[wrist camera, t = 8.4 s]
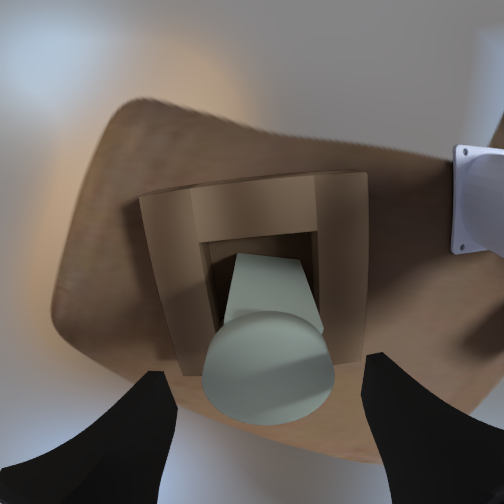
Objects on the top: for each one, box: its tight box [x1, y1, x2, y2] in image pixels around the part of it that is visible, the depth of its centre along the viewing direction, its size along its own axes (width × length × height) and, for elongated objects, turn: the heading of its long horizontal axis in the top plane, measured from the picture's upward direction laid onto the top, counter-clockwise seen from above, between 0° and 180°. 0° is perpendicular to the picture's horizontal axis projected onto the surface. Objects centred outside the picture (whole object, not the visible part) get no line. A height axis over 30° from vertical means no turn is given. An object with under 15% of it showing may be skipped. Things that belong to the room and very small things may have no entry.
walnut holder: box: [139, 169, 369, 376], centre depth 18 cm, size 12×12×2 cm
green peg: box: [202, 253, 335, 425], centre depth 15 cm, size 5×5×10 cm
